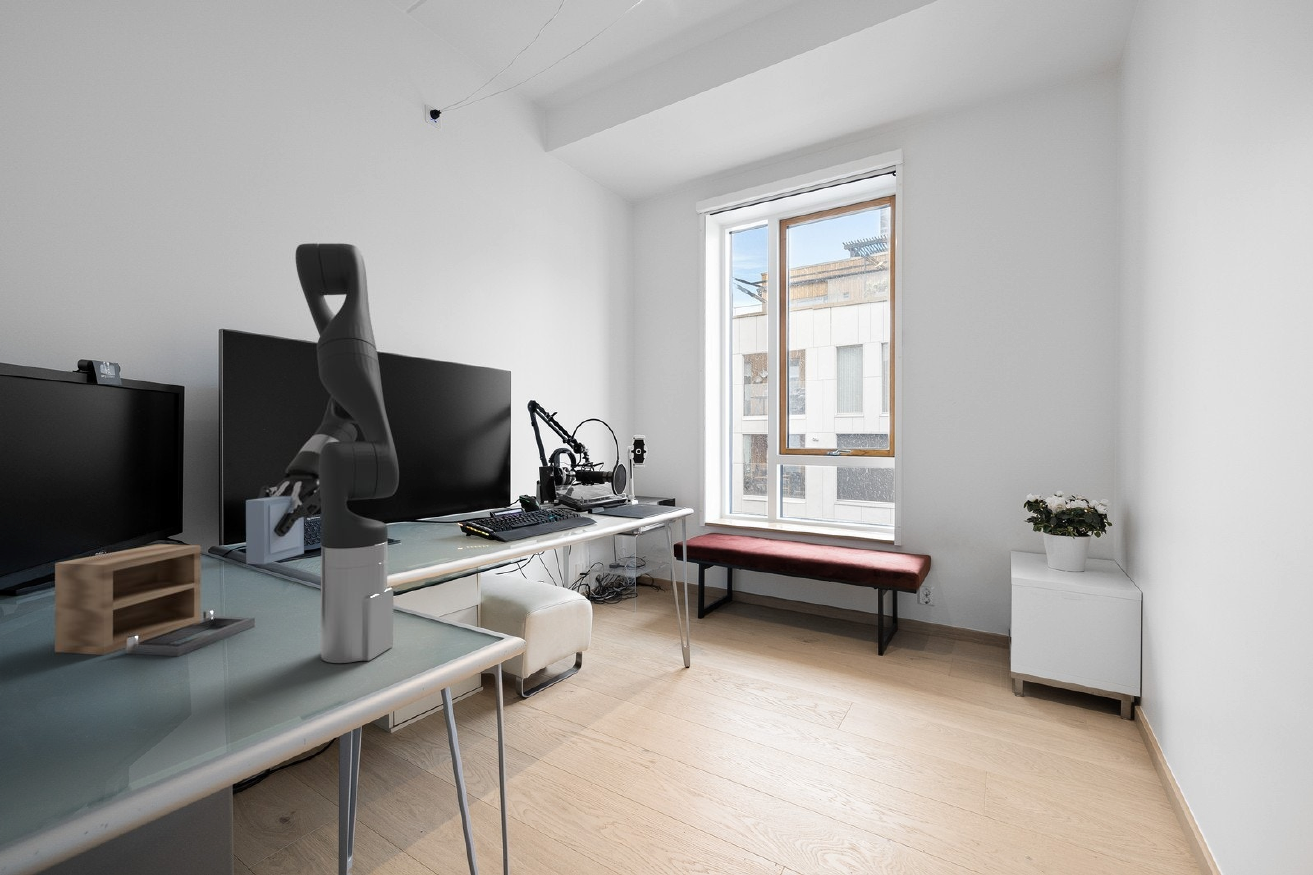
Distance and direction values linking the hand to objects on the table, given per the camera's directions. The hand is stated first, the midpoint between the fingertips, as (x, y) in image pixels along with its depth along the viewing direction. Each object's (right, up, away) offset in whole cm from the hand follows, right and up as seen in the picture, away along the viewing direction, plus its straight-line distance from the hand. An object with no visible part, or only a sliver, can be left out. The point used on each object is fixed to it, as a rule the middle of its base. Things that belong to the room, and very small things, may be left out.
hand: (267, 533), depth 100 cm
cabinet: (-20, -17, -4) cm, 27 cm away
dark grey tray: (-8, -17, -6) cm, 19 cm away
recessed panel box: (0, -5, +2) cm, 5 cm away
